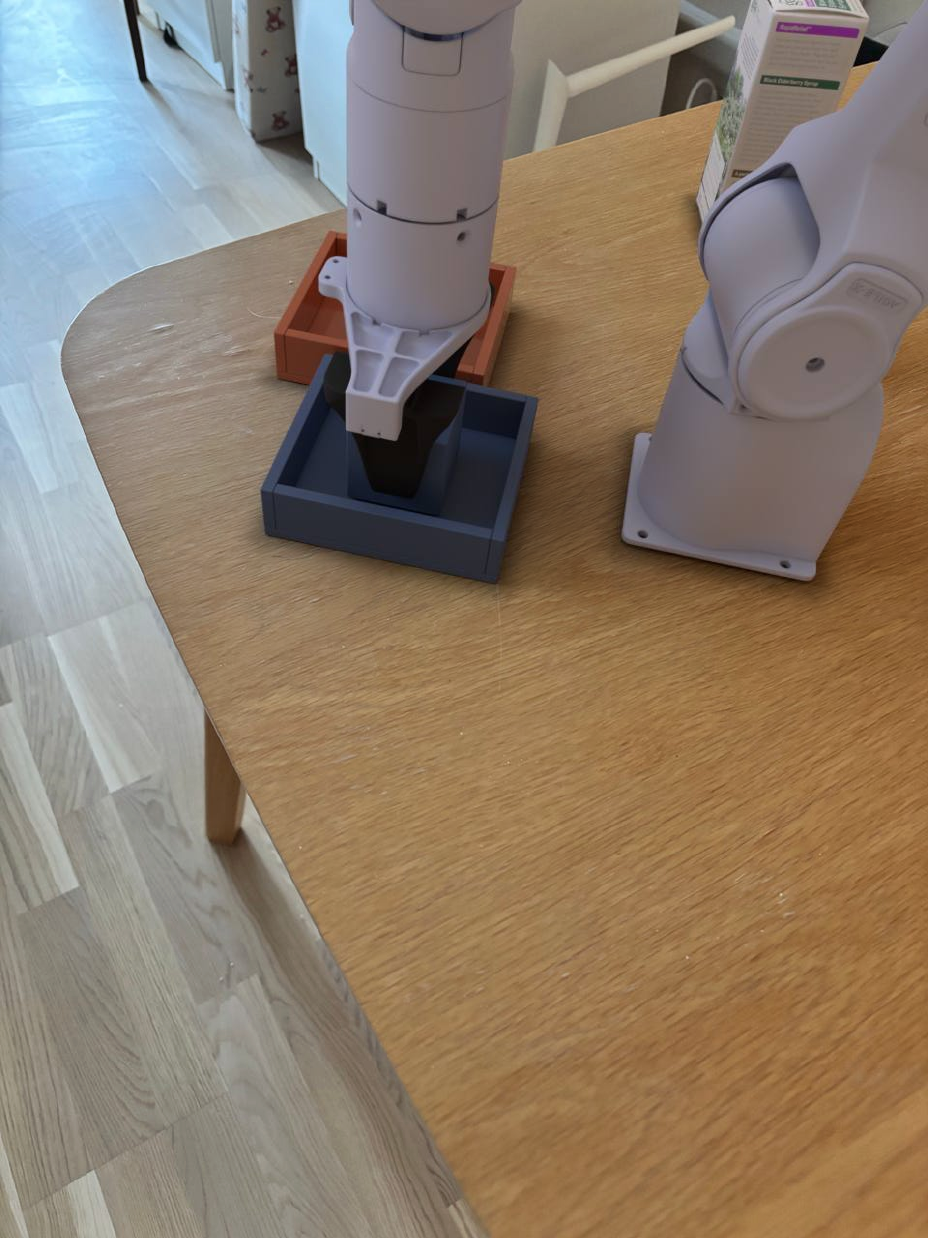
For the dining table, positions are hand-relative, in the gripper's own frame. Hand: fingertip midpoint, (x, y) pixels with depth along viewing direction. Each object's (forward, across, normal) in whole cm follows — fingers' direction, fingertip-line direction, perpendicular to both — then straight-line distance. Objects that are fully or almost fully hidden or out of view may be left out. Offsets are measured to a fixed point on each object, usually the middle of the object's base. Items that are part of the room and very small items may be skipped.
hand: (406, 453), depth 47 cm
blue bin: (+2, 0, 0) cm, 2 cm away
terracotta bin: (+2, -11, -3) cm, 12 cm away
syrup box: (+2, -31, +16) cm, 35 cm away
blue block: (+1, 0, 0) cm, 1 cm away
